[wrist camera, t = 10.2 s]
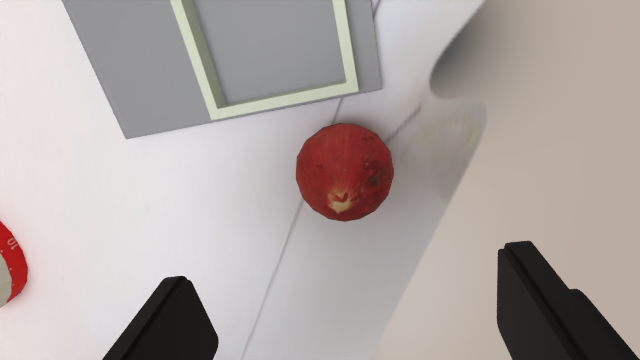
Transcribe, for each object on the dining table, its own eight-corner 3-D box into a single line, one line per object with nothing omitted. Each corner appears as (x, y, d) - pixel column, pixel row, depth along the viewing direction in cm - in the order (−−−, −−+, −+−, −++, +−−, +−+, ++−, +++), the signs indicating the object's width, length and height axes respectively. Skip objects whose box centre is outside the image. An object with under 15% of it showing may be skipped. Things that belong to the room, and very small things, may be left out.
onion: (377, 101, 21) (389, 136, 14) (394, 178, 24) (412, 243, 16) (294, 123, 23) (266, 166, 15) (317, 195, 25) (302, 263, 18)
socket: (358, 87, 20) (358, 91, 19) (220, 114, 22) (211, 120, 20) (329, -97, 16) (326, -109, 15) (166, -48, 18) (151, -55, 17)
